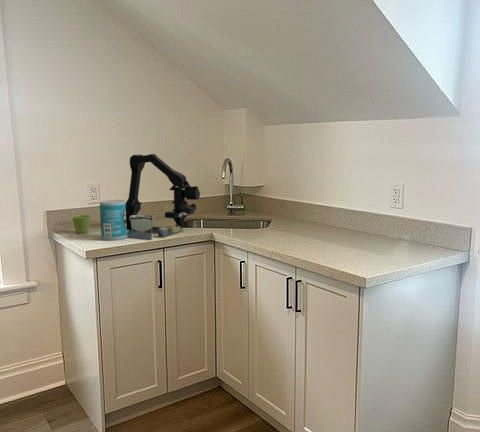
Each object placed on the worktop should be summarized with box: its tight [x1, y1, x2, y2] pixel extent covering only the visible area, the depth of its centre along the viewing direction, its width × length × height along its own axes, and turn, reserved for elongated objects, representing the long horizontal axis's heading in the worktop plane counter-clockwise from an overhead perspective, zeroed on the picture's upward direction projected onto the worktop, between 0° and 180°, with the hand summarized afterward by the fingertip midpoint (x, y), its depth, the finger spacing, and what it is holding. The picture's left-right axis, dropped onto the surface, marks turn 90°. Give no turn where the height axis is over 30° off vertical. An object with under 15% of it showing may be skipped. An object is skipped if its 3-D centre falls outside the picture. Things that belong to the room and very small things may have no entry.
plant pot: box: [71, 214, 91, 235], centre depth 248 cm, size 9×9×9 cm
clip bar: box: [170, 224, 181, 234], centre depth 247 cm, size 2×6×4 cm, turn 152°
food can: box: [99, 199, 128, 242], centre depth 234 cm, size 12×12×18 cm
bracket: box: [127, 225, 170, 241], centre depth 241 cm, size 15×16×3 cm
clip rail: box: [157, 227, 184, 239], centre depth 243 cm, size 3×18×4 cm, turn 152°
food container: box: [129, 214, 155, 236], centre depth 242 cm, size 12×6×10 cm, turn 84°
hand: (180, 229), depth 251 cm, fingers closed
